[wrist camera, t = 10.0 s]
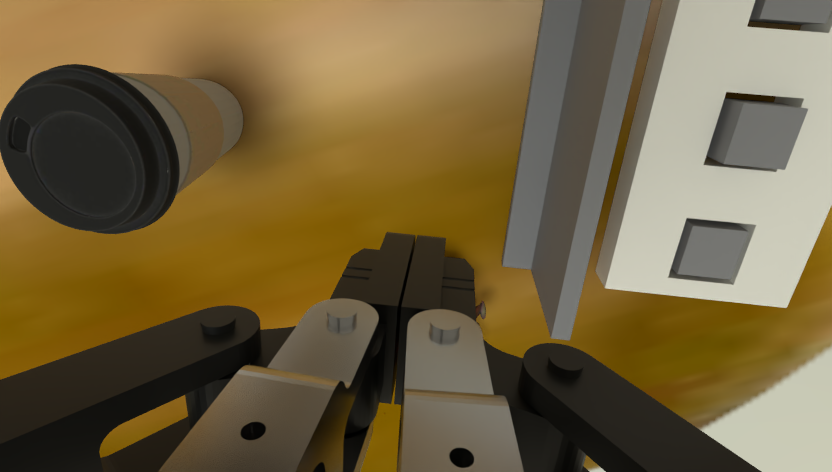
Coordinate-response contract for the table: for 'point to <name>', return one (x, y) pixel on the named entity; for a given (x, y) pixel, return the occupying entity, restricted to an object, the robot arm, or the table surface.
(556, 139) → the pattern sign
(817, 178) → the button board
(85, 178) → the coffee cup
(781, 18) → the button near
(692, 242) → the button far
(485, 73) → the table surface
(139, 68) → the table surface
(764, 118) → the button middle
